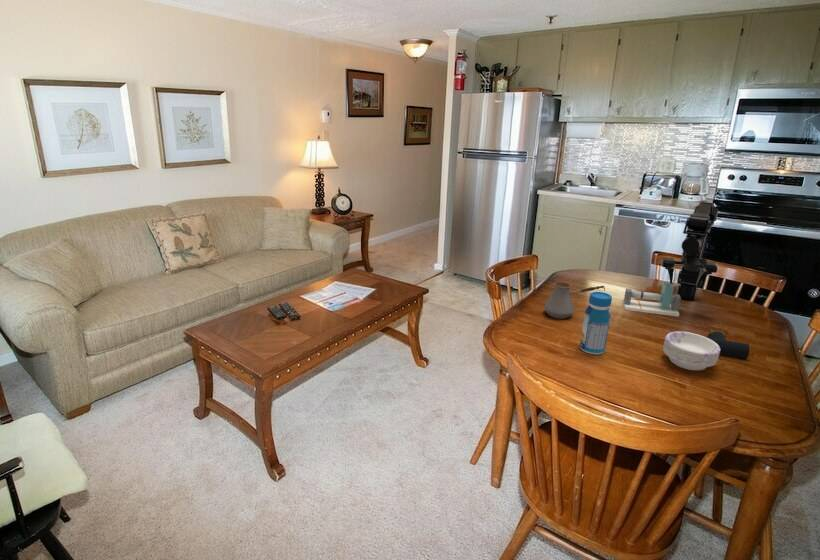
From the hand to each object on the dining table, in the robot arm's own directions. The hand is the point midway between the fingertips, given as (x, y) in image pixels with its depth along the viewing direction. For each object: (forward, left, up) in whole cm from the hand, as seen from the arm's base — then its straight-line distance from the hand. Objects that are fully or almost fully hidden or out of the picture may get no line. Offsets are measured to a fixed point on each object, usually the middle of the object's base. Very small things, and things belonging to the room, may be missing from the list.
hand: (683, 285), depth 182 cm
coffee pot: (+41, +21, -12) cm, 48 cm away
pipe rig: (+10, 0, -12) cm, 16 cm away
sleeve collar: (+5, 0, -9) cm, 11 cm away
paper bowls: (+5, +46, -12) cm, 48 cm away
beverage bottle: (+34, +47, -12) cm, 59 cm away
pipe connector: (-7, +31, -12) cm, 34 cm away
